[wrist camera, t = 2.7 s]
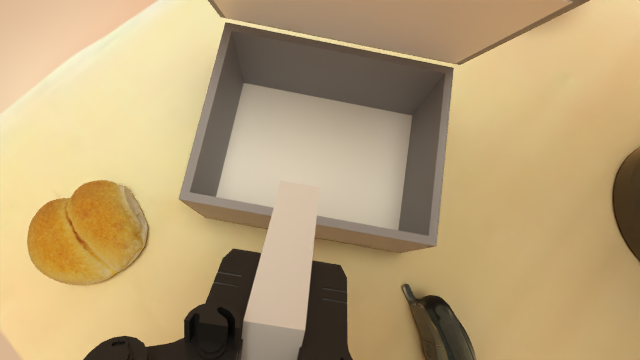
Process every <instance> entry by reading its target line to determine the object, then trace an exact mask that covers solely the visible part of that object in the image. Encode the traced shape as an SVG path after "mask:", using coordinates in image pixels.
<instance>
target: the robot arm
mask: <svg viewBox="0 0 640 360" xmlns="http://www.w3.org/2000/svg"><path fill="white" fill-rule="evenodd" d="M319 188H320V187H315V186H309V185H303V184H297V183H291V182H286V181H281V183H280V186H279V190H278V194H277V197H276V201H275V205H274V209H273V212H272V216H271V220H270V223H269V227H268V231H267V235H266V238H265V242H264V246H263V249H262V253H257V252H251V251H245V250H239V249H232V250H231V251H230V252H229V253H228V254H227V255H226V256H225V257H224V258H223V259H222V262H221V264H220V267H219V270H218V273H217V275H216V277H215V280H214V283H213V285H212V288H211V290H210V293H209V295H208V298H207V300H206V303H205V304H202V305H199V306H197V307H196V308H194V309H193V310H192V311H190V312H189V314H188V315H187V317H186V318H185V320H184V338H182V339H180V340H178V341H176V342H173V343H169V344H164V345H157V346H149V347H145V345H144V343H143V342H141V341H140V340H138V339H137V338H134V337H129V336H121V337H114V338H111V339H109V340H107V341H104V342H102V343H101V344H99V345H98V346H97V347H96V348H94V349H93V350H92V351H91V352H90V353H89V354H88V355H87V356H86V357H85V358H84V359H83V360H353V359H352V358H351V356H350V353H349V351H348V344H347V277H346V275H345V273H344V271H343V269H342V267H341V265H336V264H330V263H324V262H318V261H312V257H313V247H314V238H315V228H316V218H317V208H318V198H319ZM614 208H615V214H616V218H617V221H618V224H619V227H620V230H621V232H622V234H623V236H624V238H625V240H626V242H627V244H628V245H629V247H630V248H631V250H632V251H633V252H634V254H635V255H636V256H637V257H638V259H639V260H640V148H638V149H637V150H635V151H634V152H633V153H632V154H631V155H630V156H629V157H628V158H627V159H626V160H625V162H624V163H623V165H622V166H621V168H620V170H619V172H618V175H617V178H616V182H615V187H614Z"/></svg>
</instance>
